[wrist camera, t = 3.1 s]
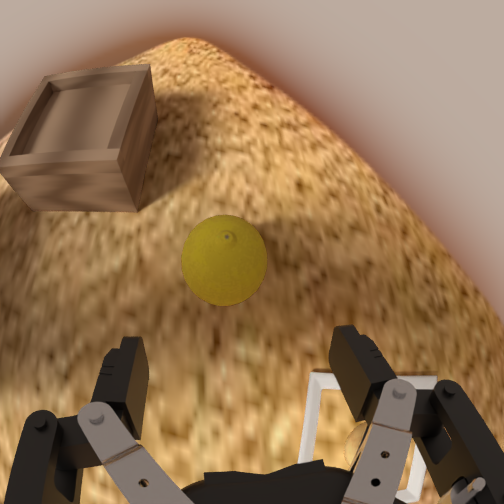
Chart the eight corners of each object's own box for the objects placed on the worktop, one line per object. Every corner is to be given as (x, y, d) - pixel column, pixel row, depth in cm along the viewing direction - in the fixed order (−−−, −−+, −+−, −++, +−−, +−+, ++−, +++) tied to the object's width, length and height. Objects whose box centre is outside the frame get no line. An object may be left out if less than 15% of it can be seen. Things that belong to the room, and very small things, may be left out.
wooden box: (33, 212, 25) (-5, 167, 18) (65, 125, 29) (44, 76, 22) (137, 213, 26) (116, 160, 19) (158, 120, 30) (150, 63, 23)
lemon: (250, 322, 24) (267, 297, 16) (178, 305, 23) (161, 272, 16) (264, 255, 26) (285, 205, 18) (197, 239, 26) (191, 183, 18)
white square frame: (430, 375, 24) (464, 371, 19) (412, 498, 19) (443, 511, 15) (305, 371, 23) (326, 370, 19) (285, 511, 19) (299, 535, 14)
